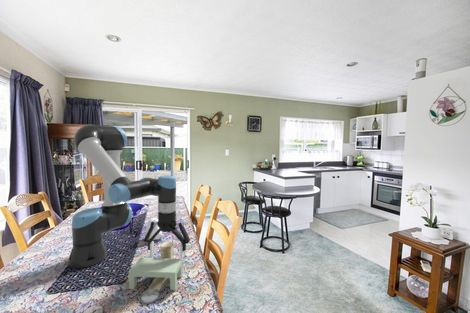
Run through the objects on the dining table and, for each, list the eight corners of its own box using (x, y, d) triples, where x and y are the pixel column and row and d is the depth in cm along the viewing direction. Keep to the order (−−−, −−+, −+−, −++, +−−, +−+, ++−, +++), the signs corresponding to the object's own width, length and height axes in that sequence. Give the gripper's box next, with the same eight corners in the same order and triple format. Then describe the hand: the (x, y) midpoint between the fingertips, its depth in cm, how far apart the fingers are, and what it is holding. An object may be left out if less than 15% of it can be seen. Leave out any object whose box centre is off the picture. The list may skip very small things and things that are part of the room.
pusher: (147, 291, 83) (147, 263, 82) (164, 265, 101) (164, 241, 100) (159, 291, 82) (159, 263, 82) (173, 265, 100) (173, 242, 100)
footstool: (128, 288, 84) (128, 271, 83) (140, 273, 94) (140, 257, 93) (175, 290, 83) (175, 272, 83) (182, 274, 93) (182, 258, 93)
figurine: (145, 243, 121) (145, 222, 121) (144, 237, 130) (143, 217, 129) (164, 240, 126) (163, 219, 125) (161, 234, 135) (161, 214, 134)
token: (138, 304, 77) (138, 299, 77) (145, 292, 83) (145, 288, 82) (155, 304, 76) (155, 300, 76) (161, 292, 82) (161, 289, 82)
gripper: (135, 212, 93) (135, 260, 95) (193, 214, 93) (192, 262, 94) (143, 207, 101) (143, 252, 102) (196, 209, 100) (196, 253, 102)
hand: (167, 257), depth 98 cm, fingers open, 13 cm apart
